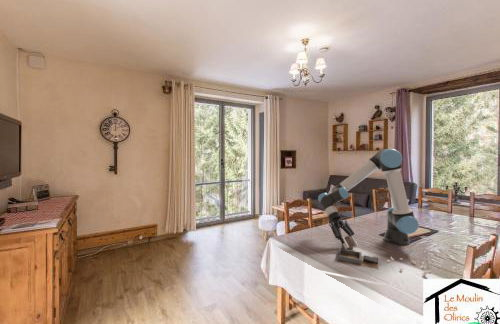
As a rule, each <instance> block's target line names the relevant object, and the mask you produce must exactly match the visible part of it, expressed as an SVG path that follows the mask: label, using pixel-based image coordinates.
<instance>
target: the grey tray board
mask: <svg viewBox="0 0 500 324" xmlns="http://www.w3.org/2000/svg"><path fill="white" fill-rule="evenodd" d="M341 254H346V255H352V256H357V257H360V258H359V259H355V258H350V257H344V256H340V255H341ZM362 256H364V257H363V261H365V262H371V263H376V264H378V265H379V257H375V256H369V255H362V251H355V250H352V251H351V250H345V249H342V248H339V249H338V252H337V256H336V257H337V261H336V262H338V261H342V262H341V263H343V262H348V263H347V264H349V263H353V264H352V265H354V264H358V265H357V266H359V265H361V261H362Z"/></svg>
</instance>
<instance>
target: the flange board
mask: <svg viewBox="0 0 500 324" xmlns="http://www.w3.org/2000/svg"><path fill="white" fill-rule="evenodd" d="M340 256H344V257H350V258H355V259H359V258H360V257H357V256H352V255H346V254H341V255H340ZM364 256H365V255H362V261H361V265H358V264H353V263H348V262H342V261H337V262H338V263H343V264H349V265H355V266H361V267H364V268H365V267H366V268H370V269H374V270H375V269H376V270H379V263H378V264H376V263H371V262H365V261H363V257H364Z"/></svg>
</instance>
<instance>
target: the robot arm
mask: <svg viewBox="0 0 500 324" xmlns="http://www.w3.org/2000/svg"><path fill="white" fill-rule="evenodd" d="M402 163H403V156H402V153H401V152H400V151H398V150H397V149H394V148H384V149H380V150H378V152H376V153H375V154H373V155H372V156H371V157H370V158H369V159H368V161H367V162H366V163H364V165H362V166H361V167H359V168H358V169H357V170H356V171H354V172H353V173H351V174H350V175H349V176H348V177H346V178H345V179H343V180H342V181H341V182H340V183H339V184H338V185H336V186H333V187H332V188H331V192H329V193H327V192H322V193H320V194H318V196H317V199H318V202H319V204H320V205H321V207H322V209H323V211H324V212H325V214H326V216H327V218H328V219H329V221H330V223H329V224H328V226H329V227H330V229H331V231H332V232H333V233H332V234H333V235H334V238H335V239H337V240H339V242H340V244H341V243H342V244H343V245H344V247H345V249H347V248H349V246H348V244H347V242H346V241H345V239H344V238H345V237H344V236H343V235H342V232H341V230H343V231H344V233H346V235H347V236H349V237H350V239H351V240H352V242H353V248H357V247H358V246H359V244H358V242H357V240H356V238H355V237H354V235H355V231H354V230H353V229H352V228H351V226H350V224H349V223H348V221H347V220H343V219H342V216H341V214H340V212H338V211H339V210H338V209H337V207H336V206H335V204H337V203H340V202H341V201H343V200H345V199H347V198H349V197H350V193H349V191H350V190H352V188H354V187H356V186H357V185H358V184H359V183H361V182H362V181H364V180H365V179H366V178H367V177H369V176H371V174H373V173H374V172H375V171H380V170H381V172H382V173H384V174H385V178H386V182H387V187H388V191H389V194H390V199H391V204H392V207H388V208H387V225H386V226H387V227H386V230H385V233H384V236H383V240H384V241H386V242H388V243H390V244H395V245H401V246H402V245H405V246H406V245H410V241H411V240H410V237H409V235H411V234H414V233H416V232H417V230H418V229H419V226H420V223H419V221H418V220H417V218H416V217H415V215H414V214H415V213H414V211H413V209H412V208H411V207H410V205H409V202H408V197H407V193H406V188H405V186H404V181H403V178H402V177H403V176H402V173H401V171H402V169H403V165H402Z"/></svg>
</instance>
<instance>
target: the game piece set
mask: <svg viewBox="0 0 500 324" xmlns="http://www.w3.org/2000/svg"><path fill="white" fill-rule="evenodd" d="M403 259H404V258H403V257H399V260H401V261H402V260H403ZM409 259H410V260H409V261H410V263H411V264H413V265H414V264H417V263H416V260H413V259H412V258H411V257H409ZM391 260H392V261H395V258H393V257H392V256H390V259H387V260H386V262H387V263H390V261H391ZM421 263H422V265H420V268H421V269H423V272H422V276H423V277H426V276H427V275H428V274H430V273H431V272H432V271H431V270H428V268H427V266H426V265H424V264H425V262H424V261H422V262H421ZM390 267H391V268H392V267H393V265H390ZM403 269H404V268H402V267H400V268H399V272H403ZM424 269H425V270H424Z"/></svg>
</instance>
